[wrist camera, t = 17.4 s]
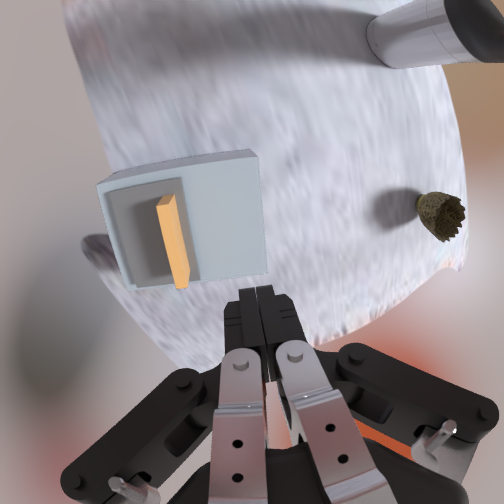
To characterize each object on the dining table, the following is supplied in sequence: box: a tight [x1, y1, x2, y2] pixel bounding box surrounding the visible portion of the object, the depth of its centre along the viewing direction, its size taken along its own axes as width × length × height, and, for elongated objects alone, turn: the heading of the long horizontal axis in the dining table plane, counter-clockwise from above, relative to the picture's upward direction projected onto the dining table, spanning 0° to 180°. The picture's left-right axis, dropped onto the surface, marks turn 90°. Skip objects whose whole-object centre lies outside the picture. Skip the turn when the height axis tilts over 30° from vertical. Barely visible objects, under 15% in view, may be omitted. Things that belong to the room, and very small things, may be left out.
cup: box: [416, 192, 465, 242], centre depth 37 cm, size 8×7×8 cm
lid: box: [109, 177, 201, 289], centre depth 28 cm, size 8×12×4 cm, turn 5°
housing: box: [96, 149, 268, 291], centre depth 33 cm, size 18×14×8 cm
